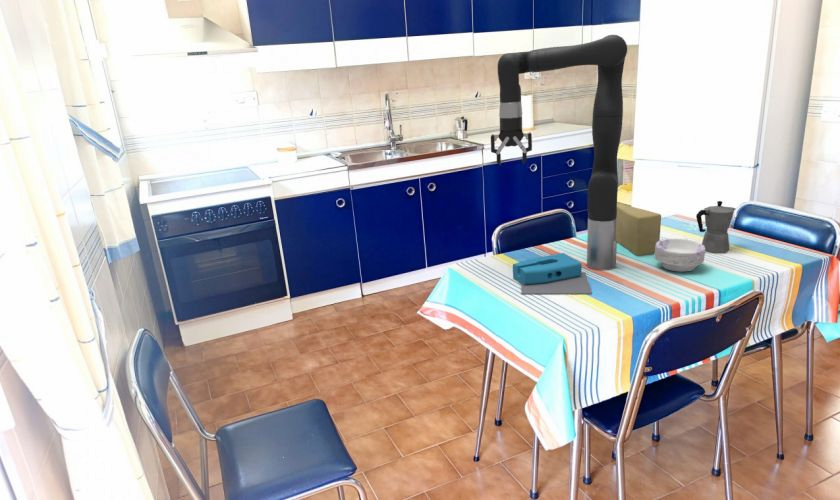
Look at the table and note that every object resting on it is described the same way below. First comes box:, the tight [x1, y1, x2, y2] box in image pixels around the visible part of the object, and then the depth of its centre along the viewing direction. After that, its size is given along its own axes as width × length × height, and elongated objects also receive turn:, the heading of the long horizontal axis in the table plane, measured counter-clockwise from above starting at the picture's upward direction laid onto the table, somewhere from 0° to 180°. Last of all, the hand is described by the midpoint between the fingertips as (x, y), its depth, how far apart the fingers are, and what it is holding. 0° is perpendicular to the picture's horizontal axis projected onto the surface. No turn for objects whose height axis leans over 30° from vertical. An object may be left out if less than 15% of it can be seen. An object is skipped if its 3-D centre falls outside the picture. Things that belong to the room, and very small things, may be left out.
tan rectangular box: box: [616, 202, 662, 257], centre depth 210 cm, size 22×10×15 cm, turn 16°
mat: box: [520, 271, 593, 295], centre depth 183 cm, size 22×18×1 cm
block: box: [512, 252, 583, 285], centre depth 188 cm, size 12×5×20 cm
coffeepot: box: [695, 200, 736, 254], centre depth 199 cm, size 15×9×18 cm, turn 103°
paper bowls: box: [654, 238, 706, 273], centre depth 188 cm, size 15×15×8 cm
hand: (511, 164), depth 193 cm, fingers open, 7 cm apart
